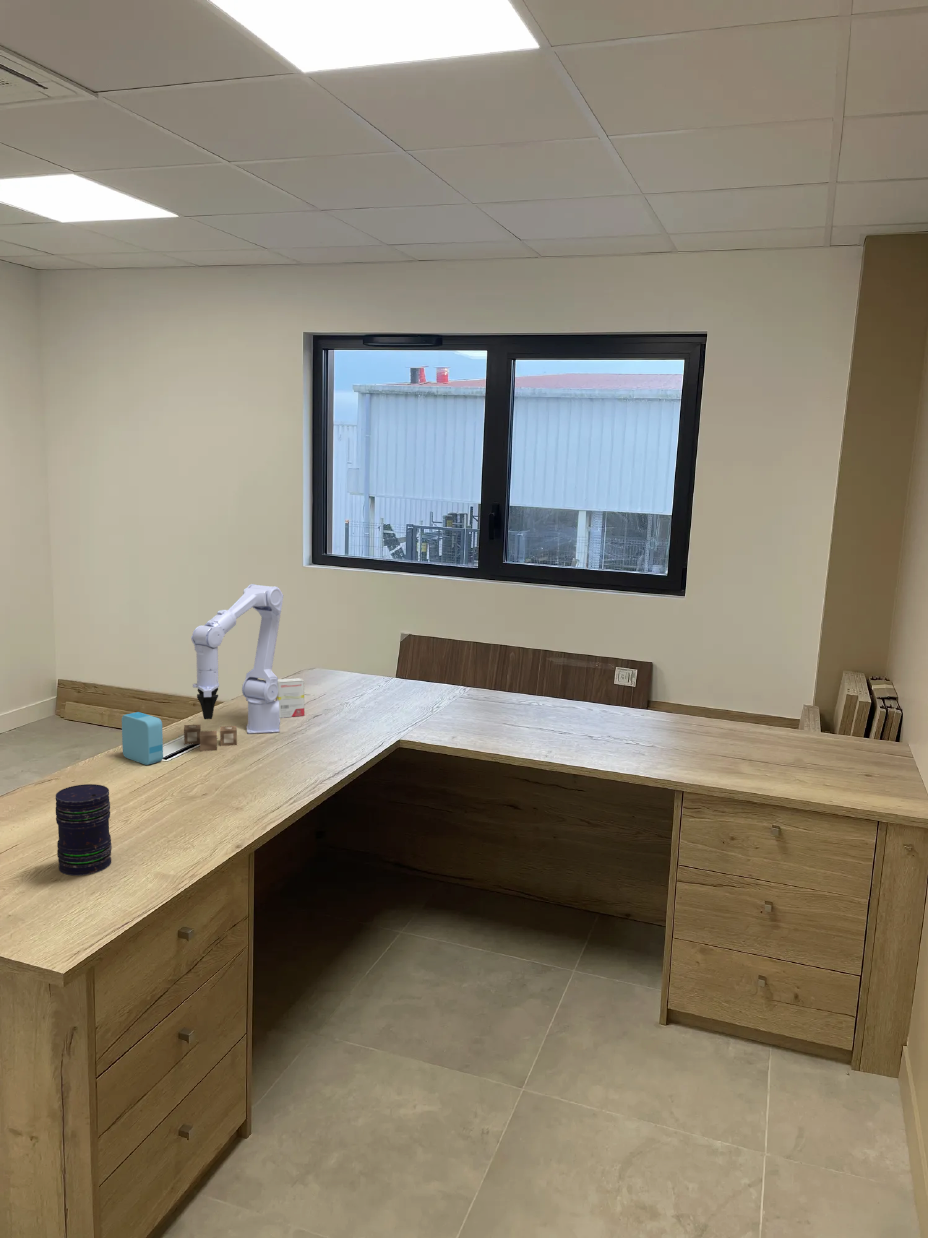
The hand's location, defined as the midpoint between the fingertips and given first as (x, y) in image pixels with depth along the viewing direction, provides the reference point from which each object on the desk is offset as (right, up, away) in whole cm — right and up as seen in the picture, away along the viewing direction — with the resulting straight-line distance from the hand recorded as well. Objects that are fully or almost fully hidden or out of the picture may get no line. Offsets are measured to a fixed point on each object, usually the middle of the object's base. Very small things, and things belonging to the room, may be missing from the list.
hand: (208, 716), depth 249 cm
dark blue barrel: (-3, -22, -73) cm, 76 cm away
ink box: (+15, -4, +38) cm, 41 cm away
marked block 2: (+4, -9, +7) cm, 12 cm away
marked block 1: (-7, -8, +7) cm, 13 cm away
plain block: (0, -9, +2) cm, 10 cm away
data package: (-15, -11, -10) cm, 21 cm away
